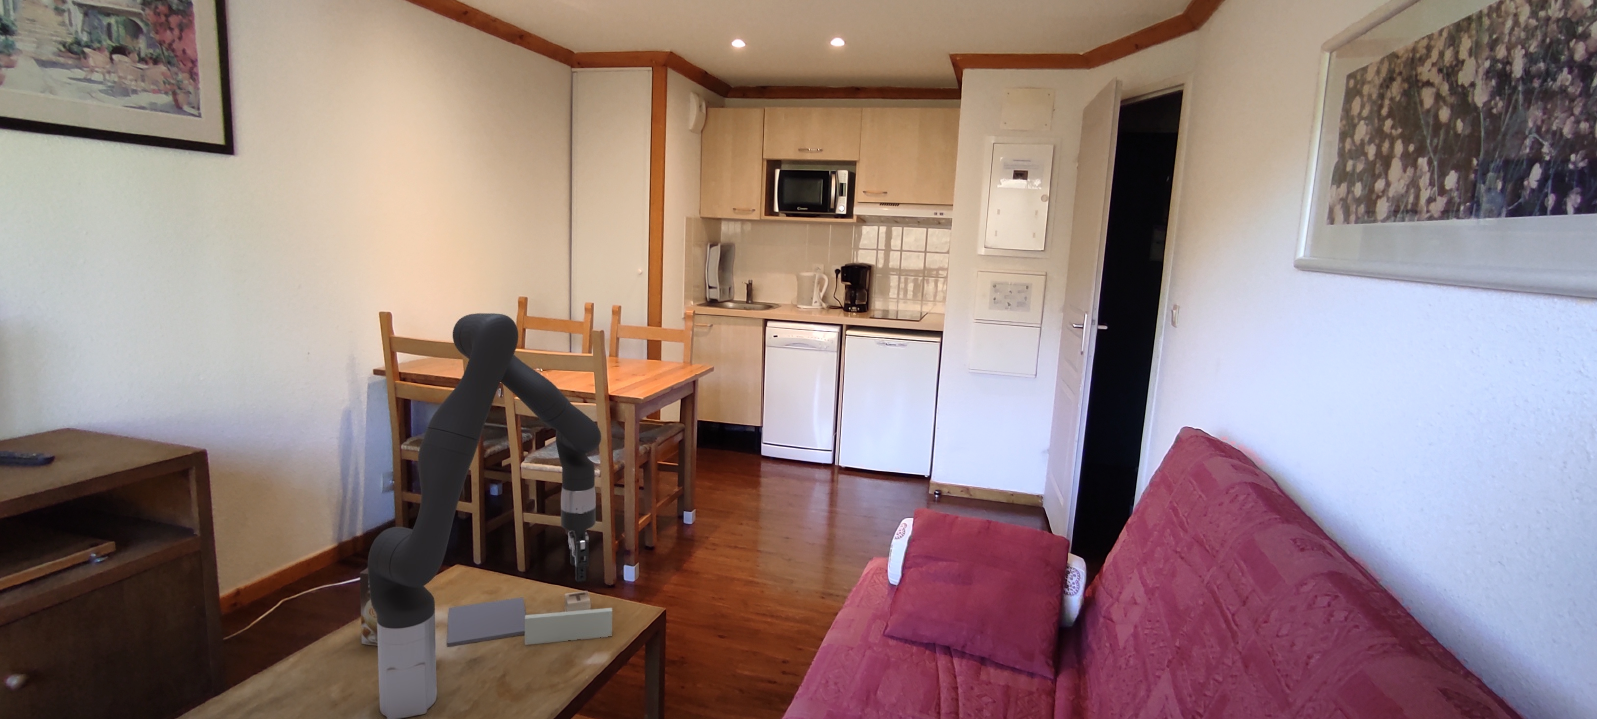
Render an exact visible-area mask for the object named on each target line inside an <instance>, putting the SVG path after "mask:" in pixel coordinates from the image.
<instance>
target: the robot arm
mask: <svg viewBox="0 0 1597 719" xmlns="http://www.w3.org/2000/svg"><path fill="white" fill-rule="evenodd" d="M452 340H453V344H454V346H455V348H456V349H457V351H458V352H459V353H460V354H461V355H463V356H464V357H465V358H467V359H468V361H467V364H466V367H465V370H464V372H463V375H462V377H461V379H460V380H459V382H458V383H457V385H456V387H455V388H454V389H453V390H452V391H451V393H449V394H448V396H447V397H445V398H446V399H444V401H442V403H441V404H440V405H439V407H438V408H437V410H435V412H434V414H433V415H432V417H431V419H430V420H429V423H428V425H427V427H426V429H425V432H424V435H423V438H422V441H421V443H420V446H419V450H418V455H417V466H418V467H417V470H418V476H419V477H418V478H419V485H420V493H421V494H420V506H419V511H418V515H417V518H416V520H415V523H414V526H413V529H412V528H409V527H405V526H392V527H389V528H386V529H384V530H383V531H381V532H380V533H379V534H378V535H377V536H376V537H375V539H374V540H373V542H372V544H371V545H370V549H369V552H368V556H367V567H368V577H369V587H370V598H371V604H372V606H373V609H374V610H375V612H376V615H377V633H378V646H377V662H378V663H377V664H378V667H377V668H378V689H379V692H378V697H379V710H380V713H381V715H383V716H385V717H386V719H404V718H409V717H415V716H420V715H424V714H427V711H428V709H429V708H431V707H432V706H433V705H434V704H435V703H436V701H437V695H438V694H437V691H438V690H437V689H438V688H437V658H436V657H437V655H436V654H437V652H436V649H437V648H436V645H437V644H436V604H435V601H436V600H435V598H434V595H433V593H432V592H430V591H429V590H428V589H427V588H426V587H425V586H426V585H427V584H429V583H430V582H431V581H432V580H433V579H434V578H435V577H436V575H437V574H438V572H439V570H440V568H441V566H442V564H443V562H444V559H445V556H446V552H447V549H448V548H447V547H448V544H449V540H450V535H451V530H452V527H453V522H454V519H455V515H456V511H457V507H458V505H459V504H458V503H459V500H460V497H461V495H462V491H463V489H464V488H463V487H464V484H465V481H466V479H467V475H468V473H469V469H470V467H471V465H472V462H473V459H474V458H475V455H476V452H477V449H478V447H479V446H478V445H479V442H480V440H481V438H482V434H483V429H484V426H485V425H486V421H487V419H488V416H489V413H490V410H491V408H492V405H493V403H494V399H495V396H496V394H497V391H498V389H499V387H500V385H501V384H502V385H503V386H504V387H506V388H507V389H508V390H509V391H510V392H511V393H513V395H515V396H516V397H517V398H518V399H519V400H520V401H521V402H522V403H523V404H524V405H525V406H526V407H527V408H528V409H529V410H530V411H531V412H532V413H533V414H534V415H535V416H536V417H537V418H538V419H539V420H540V421H541V422H542V423H543V424H545V425H546V426H547V427H549V428H551V429H552V430H554V431H556V432H555V444H556V449H557V456H558V459H559V462H560V466H561V479H562V480H561V494H560V526H561V528H563V529H564V530H567V531H568V533H567V534H568V535H567V536H568V540H567V542H568V545H569V547H568V548H569V550H570V565H571V566H573V567H574V566H575V581H576V582H577V583H581V582H585V581H587V567H589V565H590V561H589V555H590V554H589V543H590V540H589V534H588V531H587V530H589V529H591V528H592V527H594V526H595V524H596V521H597V520H596V511H597V510H596V509H597V508H596V506H597V505H596V501H597V499H596V498H597V496H596V495H597V493H596V490H595V488H596V486H595V485H596V484H595V479H596V478H595V474H596V472H595V471H596V470H595V469H596V468H595V463H594V462H593V461H592V460H591V459H590V458H589V457H588V456H587V454H589V453H592V452H594V451H596V450H597V448H598V447H600V444H601V441H602V433H601V430H600V428H599V426H598V425H597V423H595V421H594V420H592V419H591V417H589V415H587V414H586V413H584V412H583V411H581V410H580V409H579V408H577V407H576V406H575V405H574V404H573V403H571V401H570V400H569V399H568V398H567V397H566V396H565V394H564V393H563V392H562V391H561V390H560V389H559V388H558V387H557V386H556V385H555V384H554V383H553V382H552V381H551V380H549V378H547V377H545V376H544V375H543V374H541V373H539V371H536V370H535V369H533V368H532V367H531V366H529V365H528V364H526V363H525V362H523V361H522V360H521V359H520V358H518V357H517V356H516V355H515V352H516V350H517V348H518V343H519V330H518V326H517V324H516V323H515V321H514V320H513V319H512V318H511V317H510V316H508V315H506V314H503V313H494V312H493V313H484V312H483V313H482V312H479V313H470V314H465V315H464V316H462V317H460V318H459V319H458V320H457V321H456V323H455V324H454V327H453V330H452ZM582 558H583V559H582Z"/></svg>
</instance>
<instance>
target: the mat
mask: <svg viewBox="0 0 1597 719" xmlns="http://www.w3.org/2000/svg"><path fill="white" fill-rule="evenodd" d="M524 600H525V599H524V597H514V598H508V599H501V600H494V601H487V602H478V603H472V604H465V605H464V604H463V605H459V606H458V605H457V606H452V607H451V606H449V607H448V619H447V636H446V637H447V642H446V643H447V644H446V646H447V648H448V647H454V646H461V645H467V644H473V643H478V642H479V643H480V642H484V641H485V642H486V641H490V640H491V641H492V640H497V639H503V638H504V639H505V638H510V637H515V636H522V635H523V636H524V635H525V615H527V614H526V607H525V601H524Z"/></svg>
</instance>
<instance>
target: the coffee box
mask: <svg viewBox="0 0 1597 719" xmlns="http://www.w3.org/2000/svg"><path fill="white" fill-rule="evenodd" d="M359 587H360V589H359V590H360V591H359V594H360V622H361V624H360V628H361V630H360V631H361V633H360V634H361V644H362V645H369V646H376V647H378V633H377V615H376V612H375V610H374V609H373V606H372V604H371V598H370V587H369V577H368V566H367V567H366V568H365V569H364V570H362V571H360V572H359Z"/></svg>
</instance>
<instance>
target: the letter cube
mask: <svg viewBox="0 0 1597 719" xmlns="http://www.w3.org/2000/svg"><path fill="white" fill-rule="evenodd" d="M591 602H592V601H591V597H590V594H589V592H588V590H584V591H583V590H582V591H581V590H580V591H575V592H569V593H564V612H569V611H580V610H592V609H591V608H592V607H591V606H592V605H591Z"/></svg>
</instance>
